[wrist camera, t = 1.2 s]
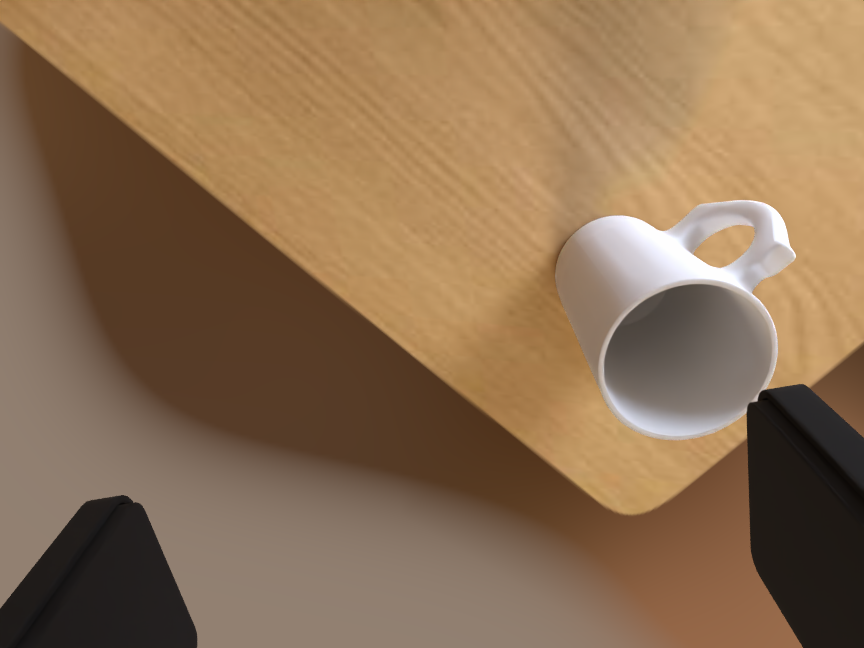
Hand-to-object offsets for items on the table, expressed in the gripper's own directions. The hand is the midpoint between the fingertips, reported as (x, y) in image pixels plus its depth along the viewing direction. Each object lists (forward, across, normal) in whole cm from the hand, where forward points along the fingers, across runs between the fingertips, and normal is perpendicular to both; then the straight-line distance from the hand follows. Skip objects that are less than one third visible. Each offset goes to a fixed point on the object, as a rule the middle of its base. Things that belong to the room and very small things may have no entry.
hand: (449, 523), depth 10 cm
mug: (+27, -9, +5) cm, 29 cm away
